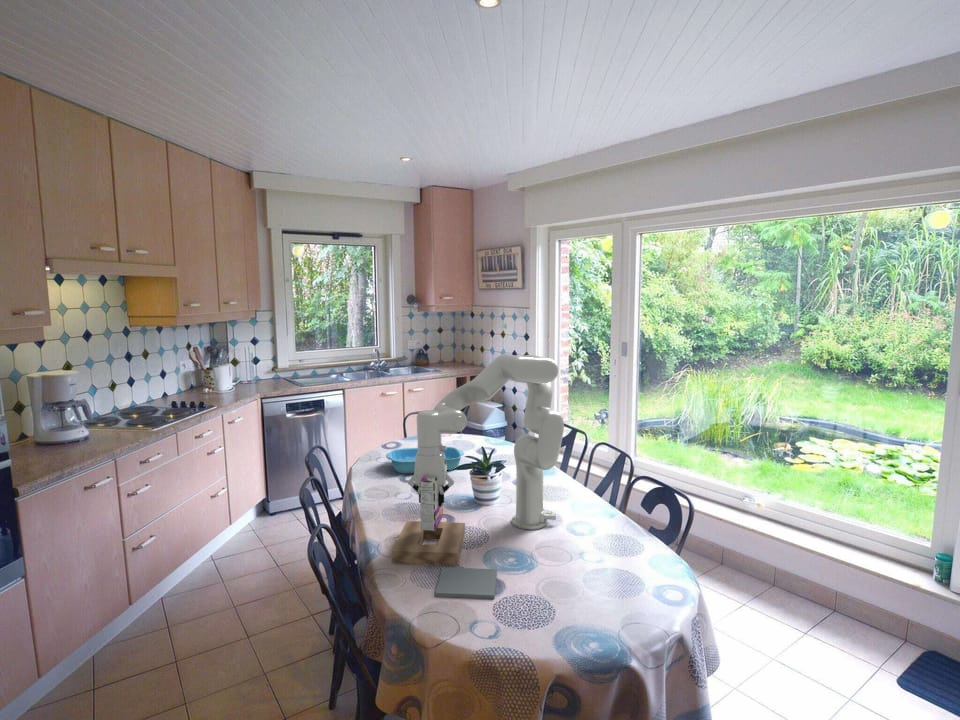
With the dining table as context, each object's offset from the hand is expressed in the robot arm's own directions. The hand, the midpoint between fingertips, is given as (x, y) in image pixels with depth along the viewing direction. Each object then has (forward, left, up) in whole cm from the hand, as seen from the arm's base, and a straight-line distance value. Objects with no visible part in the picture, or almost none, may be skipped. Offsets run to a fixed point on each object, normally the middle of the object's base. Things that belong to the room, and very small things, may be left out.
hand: (431, 504), depth 174 cm
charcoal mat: (-14, +21, -14) cm, 29 cm away
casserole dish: (+17, -82, -15) cm, 85 cm away
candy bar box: (0, 0, -7) cm, 7 cm away
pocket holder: (+1, 0, -14) cm, 14 cm away
